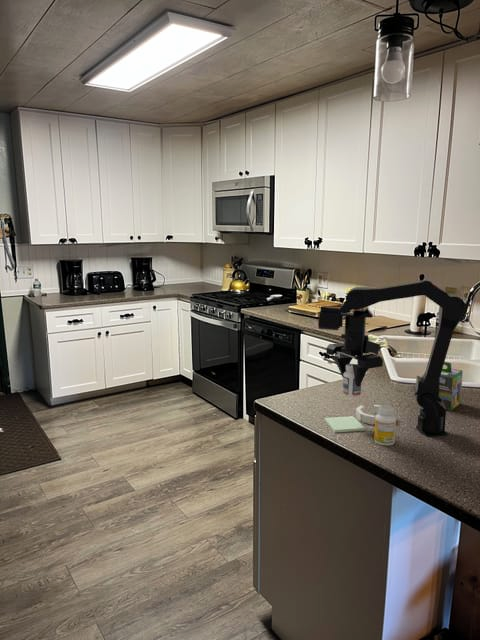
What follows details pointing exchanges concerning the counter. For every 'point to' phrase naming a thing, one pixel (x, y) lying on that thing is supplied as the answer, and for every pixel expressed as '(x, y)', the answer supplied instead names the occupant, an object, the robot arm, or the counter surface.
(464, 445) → the counter surface
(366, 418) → the locking ring
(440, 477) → the counter surface
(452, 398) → the chalk box
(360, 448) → the counter surface
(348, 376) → the pill bottle
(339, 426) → the pad
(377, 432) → the supplement bottle
